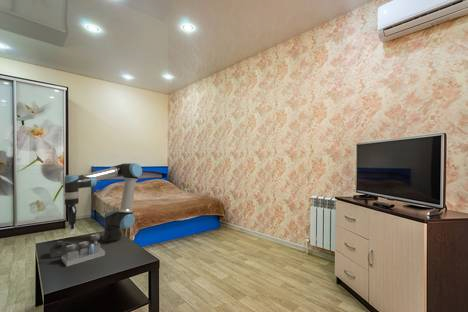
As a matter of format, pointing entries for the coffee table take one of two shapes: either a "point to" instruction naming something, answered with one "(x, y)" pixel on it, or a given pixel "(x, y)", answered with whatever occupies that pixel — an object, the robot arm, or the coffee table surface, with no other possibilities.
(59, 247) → the camera
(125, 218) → the robot arm
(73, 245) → the knob
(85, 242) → the knob mid
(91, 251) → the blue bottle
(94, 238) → the knob
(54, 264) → the coffee table surface
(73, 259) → the knob panel
